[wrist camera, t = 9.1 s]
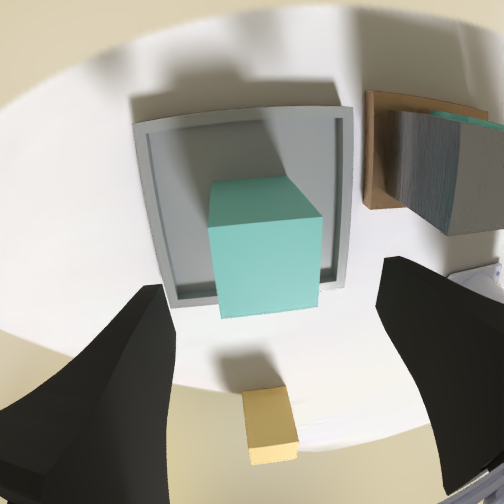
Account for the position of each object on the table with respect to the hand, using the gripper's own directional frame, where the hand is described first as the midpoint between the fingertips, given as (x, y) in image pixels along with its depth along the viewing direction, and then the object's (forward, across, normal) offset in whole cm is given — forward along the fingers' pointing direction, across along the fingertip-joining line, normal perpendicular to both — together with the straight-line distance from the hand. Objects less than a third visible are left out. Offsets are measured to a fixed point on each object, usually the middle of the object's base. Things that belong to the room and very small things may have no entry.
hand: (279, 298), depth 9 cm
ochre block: (+9, 0, +19) cm, 21 cm away
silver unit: (+9, -12, -3) cm, 15 cm away
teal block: (+8, 0, 0) cm, 8 cm away
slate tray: (+9, 0, 0) cm, 9 cm away
